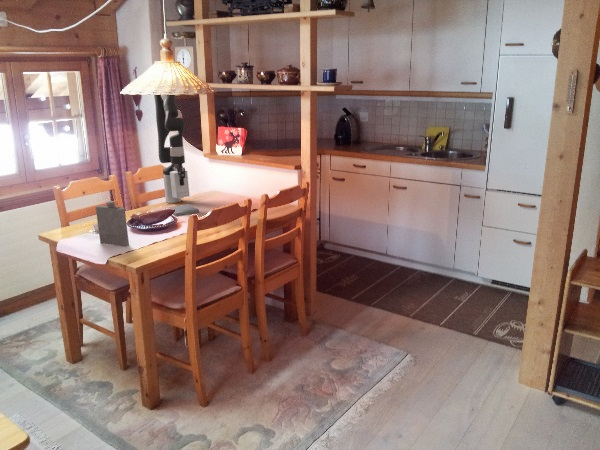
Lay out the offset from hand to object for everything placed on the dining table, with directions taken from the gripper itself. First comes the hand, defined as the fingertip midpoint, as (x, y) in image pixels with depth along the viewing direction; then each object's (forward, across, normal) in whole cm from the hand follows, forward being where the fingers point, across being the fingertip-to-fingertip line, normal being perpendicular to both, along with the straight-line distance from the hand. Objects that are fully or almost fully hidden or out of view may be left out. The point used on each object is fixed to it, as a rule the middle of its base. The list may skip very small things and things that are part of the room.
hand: (179, 184), depth 296 cm
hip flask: (+16, +38, -47) cm, 62 cm away
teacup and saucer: (+16, +14, -49) cm, 54 cm away
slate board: (+16, 0, 0) cm, 16 cm away
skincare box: (+7, 0, 0) cm, 7 cm away
